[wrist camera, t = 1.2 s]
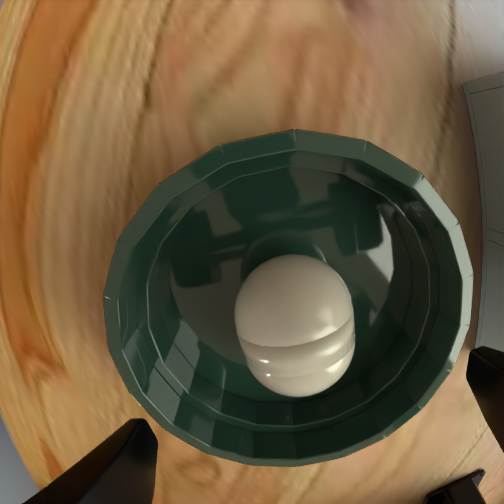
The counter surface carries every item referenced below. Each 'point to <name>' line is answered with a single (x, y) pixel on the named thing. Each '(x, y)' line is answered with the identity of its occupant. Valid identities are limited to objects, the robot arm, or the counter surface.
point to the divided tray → (490, 201)
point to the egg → (295, 325)
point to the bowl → (275, 244)
